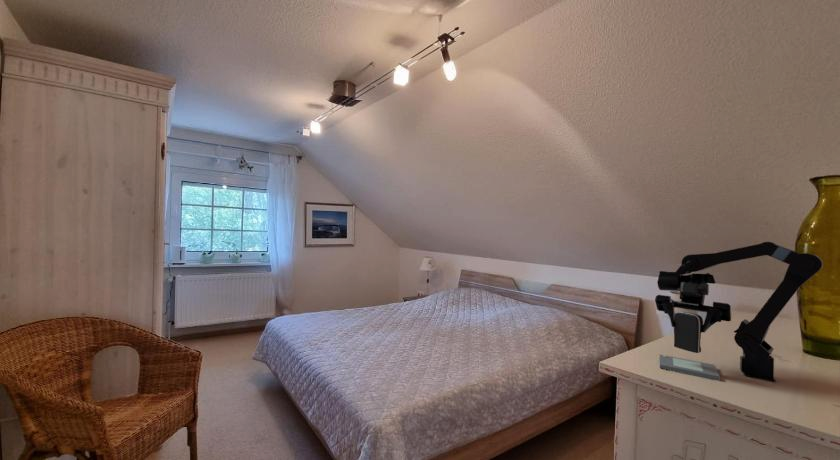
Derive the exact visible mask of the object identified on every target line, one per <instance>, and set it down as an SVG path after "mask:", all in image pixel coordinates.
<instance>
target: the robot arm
mask: <svg viewBox="0 0 840 460" xmlns="http://www.w3.org/2000/svg"><path fill="white" fill-rule="evenodd" d="M764 256H765V257H766V256H769V257H771V258H772V259H775V260H778V261H780V262H783V263H785V264H787V265H788V266H787V269H786V271H785V274H784V276H783V279H782V281H781V282H780V284H779V285H778V286H777V288H776V289H775V290H774V291H773V293H772V294H771V295H770V297H768V300H767V301H765V303H764V305H763V306H762V307H761V308H760V310H759V311H758V312H757V313H756V315H755V316H754V318H753V319H751V320H748V319H746V318H745V319H744V320H742V321H740V323H739V325H738V328H736V329H735V330H734V331H733V333H735V334H734V336H733V337H734V341H735V344H736V345H737V346H738V347H740V348H741V349H742V355H741V356H740V357H739V370H740V371H741V372H742V373H743V375H744V376H745V377H749V378H753V379H760V380H766V381H769V382H776V378H775V377H774V375H775V373H774V372H775V371H774V370H775V365H774V364H775V359H774V357H773V356H771V355H772V353H773V351H774V350H775V349H774V348H773V347H772V345H770V344H769V343H768V342H767V341H766V340H765V338H766V337H767V334H768V332H769V330H770V327H771V325H772V323H774V321H775V319H776V318H777V317H778V316H779V315H780V313H781V312H782V310H784V308H785V307H786V305H787V304H788V303H789V302H790V301H791V299H792V298H793V296H794V295H795V294H796V293H797V291H798V290H799V289H800V287H801V286H802V285H804V284H805V283H806V282H808V281H809V280H810V279H811V278H812V277H813V276H815V275H816V274H817V273H818V272H819V271H821V270H822V269H823V266H824V262H823V260H822V259H821V257H819V256H818V255H816V254H814V253H808V252H807V253H805V252H804V253H799V252H797V251H795V250H792V249H789V248H786V247H784V246H781V245H778V244H776V243H775V242H773V241H763V242H761V243H758V244H753V245H748V246H743V247H739V248H732V249H729V250H728V249H727V250H724V251H723V250H722V251H719V252H712V253H698V254H697V253H695V254H688V255H684V257H683V258H682V259H681V261H680V262H681V265H680V266H679V267H678V268H677V269H676V270H675V271H666V270H664V271H663V270H660V271H659V275H658V278H657V279H658V280H657V288H658V290H660V291H668V292H670V291H672V292H679V300H680V301H679V300H674V299H672V296H671V295H665V294H664V295H663V294H657V295H656V296H655V298H654V302H655V306H656V310H657V311H659V312H663V313H664V314H667V315H668V317H669V319H670V325H671V328H674V315H675V314H676V310H675V308H677V309H684V310H687V311H694V312H700V313H706V314H705V318H704V321H703V329H702V331H703V332H702V333H706V332H707V331H708V330H709V329H710V327H712V326H713V325H714V324H716V323H721V322H723V321H724V322H731V320H732V308H731V307H732V305H731V304H730V303H726V302H720V301H719V302H718V301H713V302H712V305H705V299H706V298H705V297H706V296H709V291H710V290H709V287H710V286H709V285H710V284H716V279H715V277H714V275H713V274H711V273H709V272H707V273H697V272H702V271H705V270H708V269H711V268H713V267H716V266H718V265H722V264H727V263H732V262H738V261H743V260H749V259H753V258H759V257H764Z"/></svg>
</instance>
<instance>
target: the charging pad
mask: <svg viewBox="0 0 840 460" xmlns="http://www.w3.org/2000/svg"><path fill="white" fill-rule="evenodd" d="M660 368H663V369H662V370H665V369H667V370H666V371H669V370H671V371H670V372H674V371H675V373H679V374H684V375H690V376H695V377H699V378H703V379H704V378H705V379H709V380H715V381H720V382H721V376H720V374H719V371H718V369H717V367H716V365H715V364H713V363H708V362H702V361H698V360H697V361H696V360H692V359H691V360H690V359H688V358H687V359H685V358H680V357H675V356H669V355H664V354H659V369H660Z"/></svg>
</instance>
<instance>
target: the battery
mask: <svg viewBox="0 0 840 460" xmlns="http://www.w3.org/2000/svg"><path fill="white" fill-rule="evenodd" d="M703 320H704V319H703V317H702V316H701V315H699V314H696V313H692V312H685V311H683V312H682V311H678V312H675V315H674V327H673V337H674V338H673V346H674V347H675V348H677V349H679V350H680V349H681V350H683V351H687V352H690V353H693V354H694V353H695V354H699V353H702V347H701V339H702V338H701V337H702V333H704V332H703V331H702V329H703V324H704V321H703Z"/></svg>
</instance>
